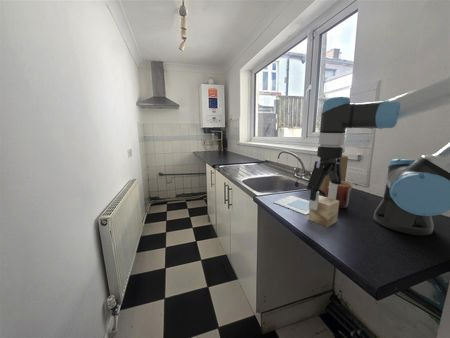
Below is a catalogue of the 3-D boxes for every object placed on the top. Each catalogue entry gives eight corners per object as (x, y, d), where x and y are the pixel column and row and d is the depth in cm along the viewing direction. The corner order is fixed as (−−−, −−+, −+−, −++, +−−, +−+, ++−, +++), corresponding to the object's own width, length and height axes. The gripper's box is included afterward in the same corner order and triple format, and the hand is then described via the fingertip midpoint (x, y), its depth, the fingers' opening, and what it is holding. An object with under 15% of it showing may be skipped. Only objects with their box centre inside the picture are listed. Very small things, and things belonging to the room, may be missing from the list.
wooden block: (334, 188, 105) (339, 153, 101) (344, 194, 95) (349, 156, 91) (316, 188, 106) (319, 153, 102) (323, 194, 96) (327, 155, 92)
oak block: (336, 221, 68) (339, 200, 66) (327, 227, 64) (330, 205, 62) (318, 214, 73) (319, 195, 72) (308, 219, 69) (310, 199, 68)
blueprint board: (323, 206, 81) (323, 205, 81) (305, 215, 73) (305, 214, 73) (291, 196, 93) (291, 195, 93) (273, 202, 85) (273, 201, 85)
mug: (335, 200, 87) (338, 179, 85) (354, 208, 79) (357, 185, 77) (316, 204, 83) (318, 182, 81) (334, 212, 75) (337, 188, 73)
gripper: (335, 143, 73) (328, 194, 78) (299, 147, 59) (293, 208, 63) (357, 144, 67) (348, 199, 72) (323, 149, 53) (314, 217, 57)
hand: (322, 204), depth 68 cm, fingers open, 13 cm apart
